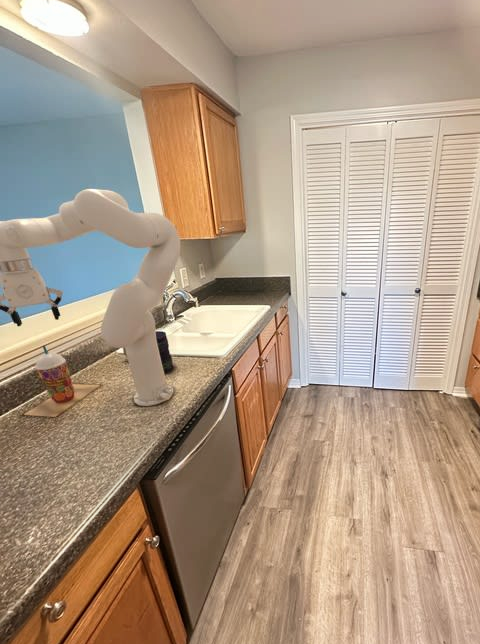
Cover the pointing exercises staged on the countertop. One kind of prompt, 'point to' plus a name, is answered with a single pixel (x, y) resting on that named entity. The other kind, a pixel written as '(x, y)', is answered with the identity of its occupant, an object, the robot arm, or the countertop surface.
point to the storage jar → (164, 351)
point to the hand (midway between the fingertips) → (39, 321)
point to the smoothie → (55, 376)
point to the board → (54, 409)
